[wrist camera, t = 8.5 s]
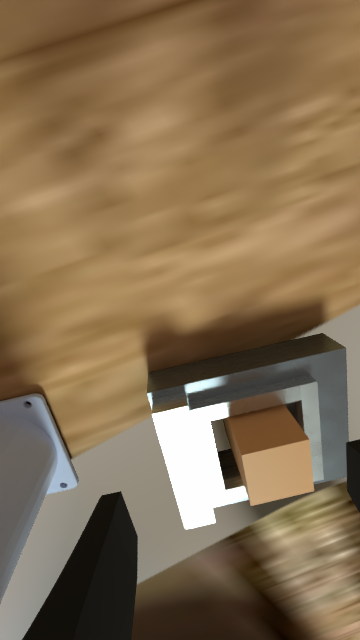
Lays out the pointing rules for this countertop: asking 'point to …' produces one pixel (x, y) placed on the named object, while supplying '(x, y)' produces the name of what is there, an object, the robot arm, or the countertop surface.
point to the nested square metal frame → (241, 397)
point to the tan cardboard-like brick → (270, 454)
